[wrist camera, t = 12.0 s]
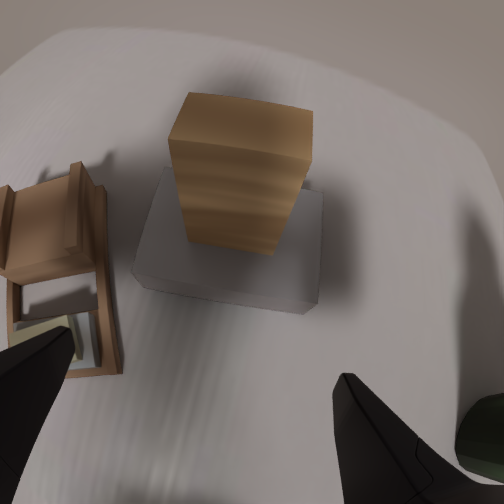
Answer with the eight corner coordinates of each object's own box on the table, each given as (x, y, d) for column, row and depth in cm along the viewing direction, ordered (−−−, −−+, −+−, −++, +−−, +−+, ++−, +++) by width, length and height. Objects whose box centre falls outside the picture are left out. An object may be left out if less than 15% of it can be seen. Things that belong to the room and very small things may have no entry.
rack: (122, 373, 16) (97, 372, 12) (20, 381, 15) (-16, 378, 11) (106, 192, 20) (89, 158, 17) (19, 215, 19) (-6, 189, 15)
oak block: (272, 255, 17) (311, 161, 9) (188, 241, 16) (167, 139, 9) (277, 215, 18) (312, 111, 10) (198, 202, 17) (188, 92, 10)
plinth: (303, 314, 19) (317, 303, 16) (143, 287, 18) (130, 272, 15) (310, 215, 21) (323, 192, 18) (170, 192, 21) (164, 166, 18)
